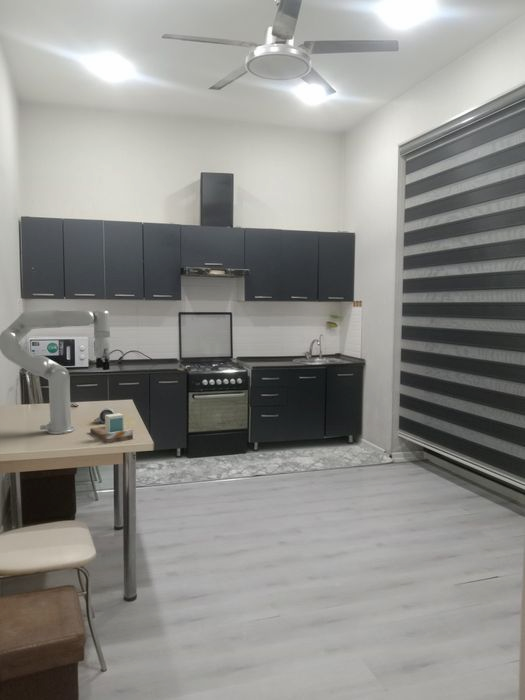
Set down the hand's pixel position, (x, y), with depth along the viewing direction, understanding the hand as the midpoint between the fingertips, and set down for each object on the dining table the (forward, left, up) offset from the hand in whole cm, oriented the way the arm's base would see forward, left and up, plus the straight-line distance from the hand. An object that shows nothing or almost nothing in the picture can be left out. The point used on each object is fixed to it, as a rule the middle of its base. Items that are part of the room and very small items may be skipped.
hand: (102, 368), depth 258 cm
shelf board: (-3, -18, -30) cm, 35 cm away
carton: (-3, -23, -28) cm, 37 cm away
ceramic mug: (+5, +12, -31) cm, 33 cm away
